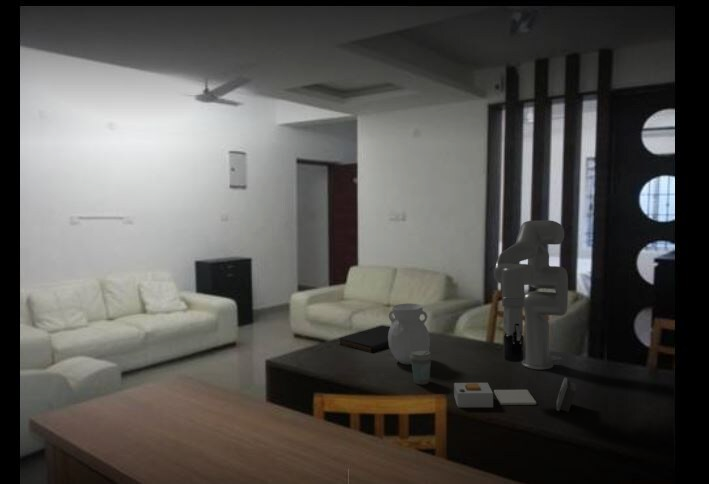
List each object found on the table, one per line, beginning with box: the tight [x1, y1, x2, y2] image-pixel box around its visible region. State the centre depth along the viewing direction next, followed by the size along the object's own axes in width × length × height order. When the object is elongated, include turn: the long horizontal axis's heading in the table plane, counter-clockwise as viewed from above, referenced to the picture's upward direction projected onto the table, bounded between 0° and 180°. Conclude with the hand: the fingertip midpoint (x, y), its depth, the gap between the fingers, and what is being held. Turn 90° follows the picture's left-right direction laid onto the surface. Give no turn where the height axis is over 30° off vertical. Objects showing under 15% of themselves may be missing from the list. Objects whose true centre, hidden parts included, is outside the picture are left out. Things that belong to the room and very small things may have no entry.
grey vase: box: [388, 303, 431, 365], centre depth 226 cm, size 19×18×25 cm
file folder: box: [338, 325, 390, 354], centre depth 261 cm, size 33×4×24 cm
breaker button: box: [465, 382, 480, 391], centre depth 179 cm, size 4×4×4 cm
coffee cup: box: [410, 350, 433, 386], centre depth 200 cm, size 9×8×12 cm
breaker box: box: [453, 382, 494, 408], centre depth 179 cm, size 12×10×5 cm
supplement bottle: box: [503, 332, 525, 363], centre depth 180 cm, size 7×7×12 cm
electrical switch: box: [556, 377, 576, 413], centre depth 171 cm, size 9×5×9 cm, turn 158°
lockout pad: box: [493, 389, 537, 406], centre depth 181 cm, size 12×12×1 cm
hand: (513, 351), depth 180 cm, fingers closed on supplement bottle, 6 cm apart
